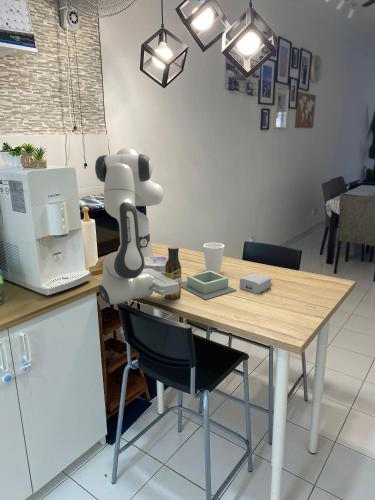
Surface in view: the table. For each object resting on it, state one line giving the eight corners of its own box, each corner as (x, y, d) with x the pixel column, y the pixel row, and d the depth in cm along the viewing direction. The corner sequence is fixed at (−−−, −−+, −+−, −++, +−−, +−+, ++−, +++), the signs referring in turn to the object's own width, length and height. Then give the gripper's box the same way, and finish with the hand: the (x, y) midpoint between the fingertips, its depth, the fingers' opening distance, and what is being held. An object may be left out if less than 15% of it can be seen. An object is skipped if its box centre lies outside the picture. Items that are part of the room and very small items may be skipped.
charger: (278, 284, 163) (258, 294, 152) (259, 279, 169) (239, 288, 158) (278, 273, 161) (259, 283, 151) (260, 268, 167) (239, 277, 157)
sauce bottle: (175, 301, 145) (175, 250, 140) (161, 298, 148) (161, 248, 143) (184, 295, 151) (184, 246, 145) (170, 292, 154) (170, 244, 148)
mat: (175, 284, 162) (175, 283, 162) (205, 276, 171) (205, 275, 171) (205, 300, 146) (205, 299, 146) (236, 290, 155) (236, 289, 155)
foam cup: (198, 272, 177) (199, 244, 173) (214, 268, 182) (214, 241, 178) (212, 277, 169) (213, 249, 166) (227, 273, 175) (228, 246, 171)
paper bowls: (168, 270, 179) (168, 253, 177) (178, 281, 165) (178, 263, 163) (136, 273, 175) (135, 256, 172) (143, 285, 161) (143, 267, 158)
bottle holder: (187, 285, 160) (187, 276, 159) (210, 279, 167) (210, 270, 166) (204, 294, 151) (204, 284, 150) (228, 287, 158) (228, 277, 157)
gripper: (158, 285, 131) (191, 276, 139) (130, 268, 147) (160, 262, 155) (158, 302, 133) (191, 293, 141) (130, 284, 149) (161, 277, 156)
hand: (175, 276), depth 148 cm, fingers closed on sauce bottle, 6 cm apart
